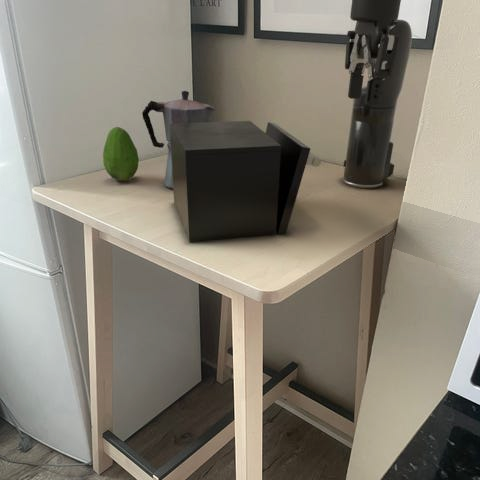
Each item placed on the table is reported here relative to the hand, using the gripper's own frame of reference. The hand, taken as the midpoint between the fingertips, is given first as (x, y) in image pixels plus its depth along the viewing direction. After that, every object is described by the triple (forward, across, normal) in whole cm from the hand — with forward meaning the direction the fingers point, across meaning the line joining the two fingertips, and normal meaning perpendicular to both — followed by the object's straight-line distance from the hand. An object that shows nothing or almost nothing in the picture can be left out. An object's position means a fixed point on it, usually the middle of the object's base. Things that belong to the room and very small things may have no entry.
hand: (362, 101), depth 86 cm
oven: (+22, +5, +24) cm, 33 cm away
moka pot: (+22, +26, +29) cm, 45 cm away
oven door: (+22, +5, +13) cm, 26 cm away
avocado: (+22, +33, +42) cm, 58 cm away
